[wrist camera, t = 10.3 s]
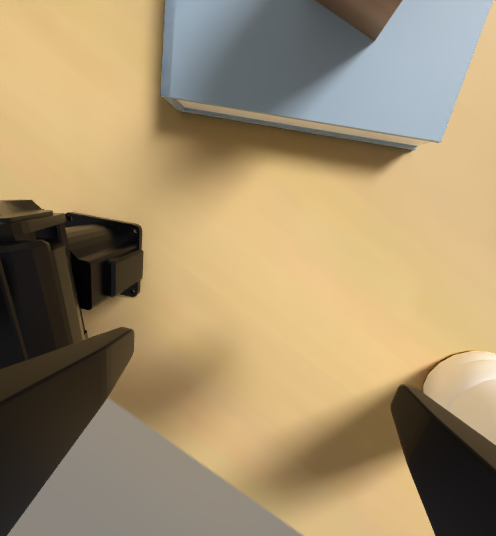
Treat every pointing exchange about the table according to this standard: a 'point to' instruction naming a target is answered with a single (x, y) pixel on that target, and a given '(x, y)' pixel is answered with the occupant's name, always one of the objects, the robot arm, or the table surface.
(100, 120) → the table surface
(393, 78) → the book
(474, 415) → the bottle
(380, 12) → the brown wooden block
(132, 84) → the table surface
